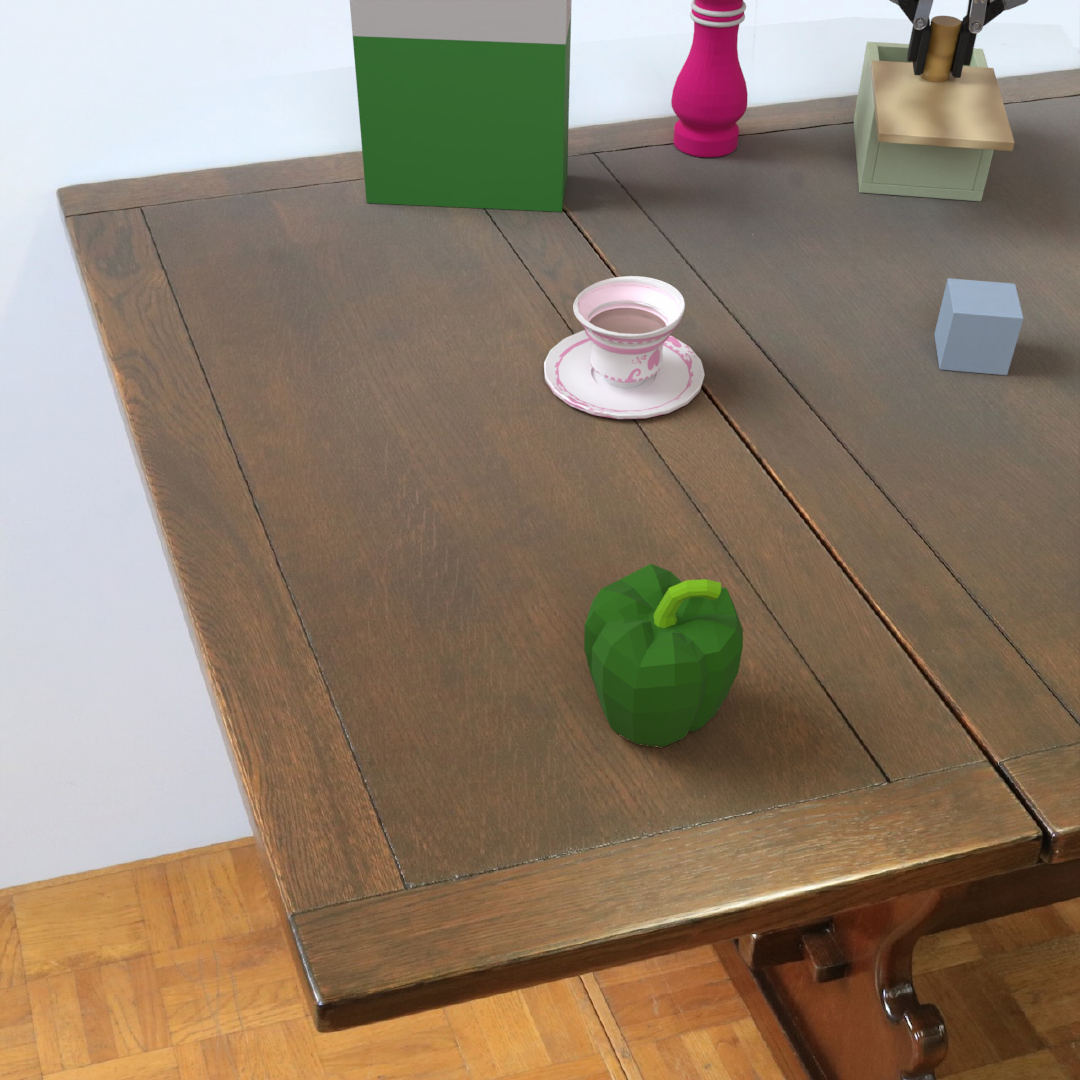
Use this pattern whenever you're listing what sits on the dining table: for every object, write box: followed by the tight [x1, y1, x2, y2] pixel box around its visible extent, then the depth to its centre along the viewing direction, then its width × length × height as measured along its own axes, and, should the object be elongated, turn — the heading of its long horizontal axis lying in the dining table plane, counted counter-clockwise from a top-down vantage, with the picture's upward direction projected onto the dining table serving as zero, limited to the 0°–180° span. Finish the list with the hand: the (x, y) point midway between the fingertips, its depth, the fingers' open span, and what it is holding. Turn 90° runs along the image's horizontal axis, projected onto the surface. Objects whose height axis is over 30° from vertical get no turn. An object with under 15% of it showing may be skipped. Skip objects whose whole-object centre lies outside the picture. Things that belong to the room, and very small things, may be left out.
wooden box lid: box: [870, 15, 1016, 152], centre depth 115 cm, size 11×16×6 cm
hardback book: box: [349, 0, 572, 213], centre depth 114 cm, size 18×7×24 cm, turn 85°
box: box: [853, 41, 995, 202], centre depth 125 cm, size 11×16×8 cm
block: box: [934, 277, 1025, 376], centre depth 100 cm, size 5×5×5 cm
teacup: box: [543, 275, 706, 420], centre depth 97 cm, size 12×12×6 cm
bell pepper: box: [583, 563, 744, 748], centre depth 71 cm, size 8×8×10 cm
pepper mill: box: [670, 0, 749, 158], centre depth 123 cm, size 7×7×20 cm
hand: (936, 69), depth 119 cm, fingers closed on wooden box lid, 2 cm apart
